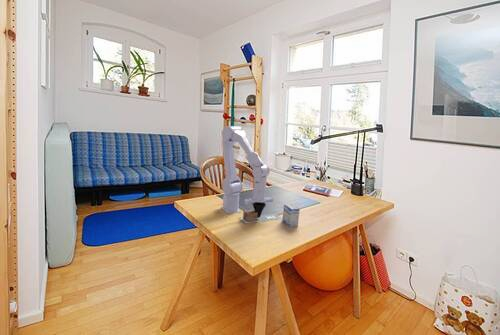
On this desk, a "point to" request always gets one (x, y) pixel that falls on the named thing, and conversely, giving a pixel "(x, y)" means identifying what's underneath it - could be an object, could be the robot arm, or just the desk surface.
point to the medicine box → (290, 215)
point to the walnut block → (250, 215)
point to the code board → (263, 218)
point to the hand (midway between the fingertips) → (257, 216)
